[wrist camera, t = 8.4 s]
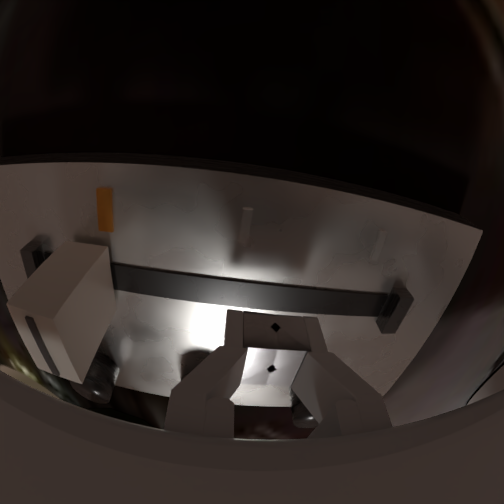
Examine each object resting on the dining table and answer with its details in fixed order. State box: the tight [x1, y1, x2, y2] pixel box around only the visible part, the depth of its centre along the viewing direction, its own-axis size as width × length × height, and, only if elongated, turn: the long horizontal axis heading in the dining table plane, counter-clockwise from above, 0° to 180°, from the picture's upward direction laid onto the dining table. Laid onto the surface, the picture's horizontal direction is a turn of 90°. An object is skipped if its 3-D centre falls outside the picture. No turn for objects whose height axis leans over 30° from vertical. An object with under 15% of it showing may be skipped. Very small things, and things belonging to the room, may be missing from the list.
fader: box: [6, 241, 117, 384], centre depth 8 cm, size 2×3×4 cm, turn 171°
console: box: [0, 152, 483, 428], centre depth 11 cm, size 24×13×4 cm, turn 81°
